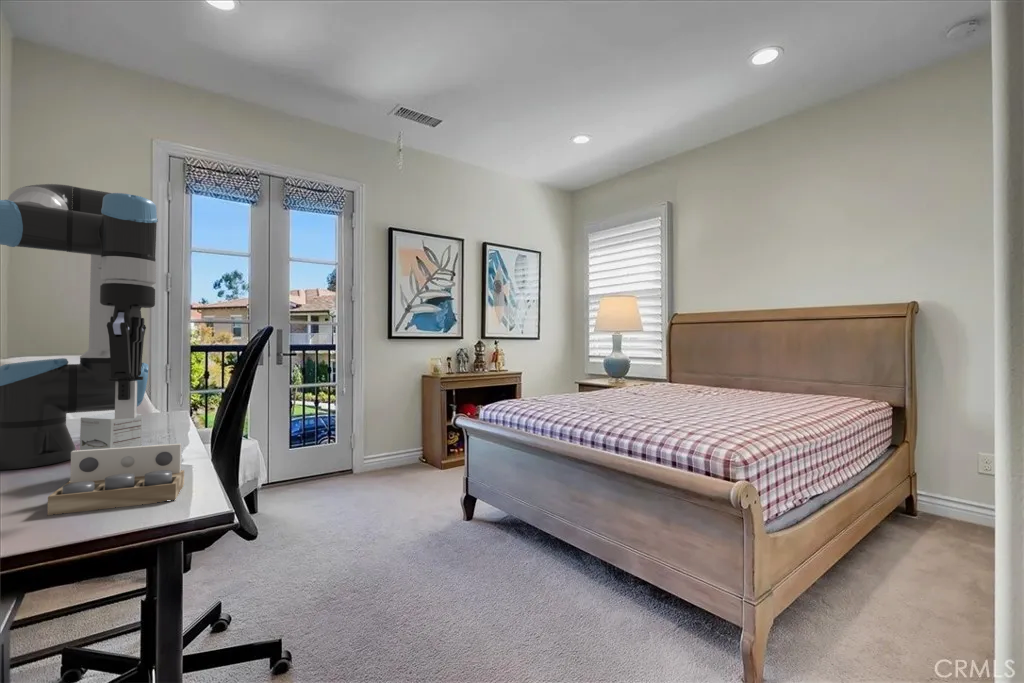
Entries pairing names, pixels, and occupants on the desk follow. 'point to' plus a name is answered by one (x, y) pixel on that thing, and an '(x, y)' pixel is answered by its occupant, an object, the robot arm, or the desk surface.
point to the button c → (158, 478)
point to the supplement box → (110, 432)
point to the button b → (119, 481)
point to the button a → (79, 487)
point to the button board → (114, 496)
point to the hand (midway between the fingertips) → (125, 417)
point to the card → (124, 461)
